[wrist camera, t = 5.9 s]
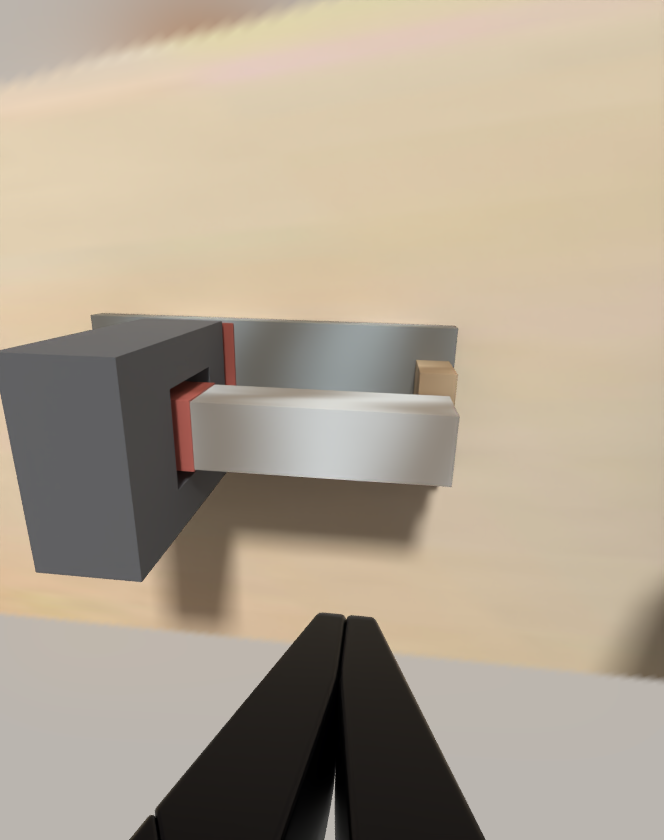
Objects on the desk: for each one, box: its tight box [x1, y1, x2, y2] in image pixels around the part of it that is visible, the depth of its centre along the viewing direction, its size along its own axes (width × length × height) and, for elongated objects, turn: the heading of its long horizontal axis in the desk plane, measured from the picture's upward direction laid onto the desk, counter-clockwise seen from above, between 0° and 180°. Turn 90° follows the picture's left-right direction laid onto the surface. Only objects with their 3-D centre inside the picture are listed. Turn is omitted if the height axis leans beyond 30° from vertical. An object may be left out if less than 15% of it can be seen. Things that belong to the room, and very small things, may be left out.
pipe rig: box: [91, 313, 459, 487], centre depth 17 cm, size 14×6×5 cm, turn 89°
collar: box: [0, 318, 226, 582], centre depth 15 cm, size 3×6×7 cm, turn 179°
